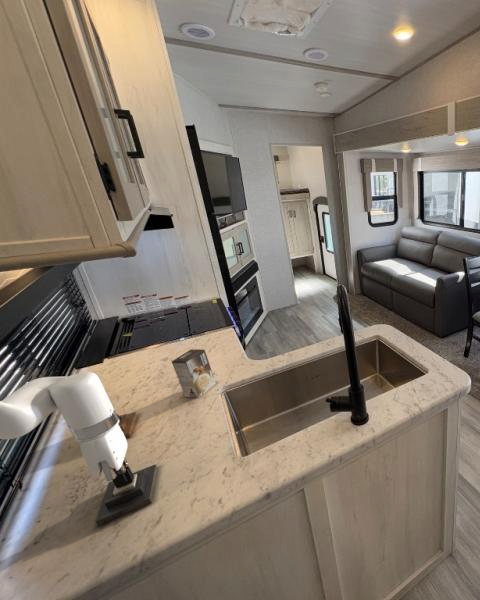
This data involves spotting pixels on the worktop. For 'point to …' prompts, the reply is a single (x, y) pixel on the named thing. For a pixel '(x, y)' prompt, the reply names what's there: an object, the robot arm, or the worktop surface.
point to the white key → (126, 486)
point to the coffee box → (194, 372)
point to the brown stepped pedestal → (127, 423)
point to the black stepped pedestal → (128, 497)
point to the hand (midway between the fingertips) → (125, 482)
